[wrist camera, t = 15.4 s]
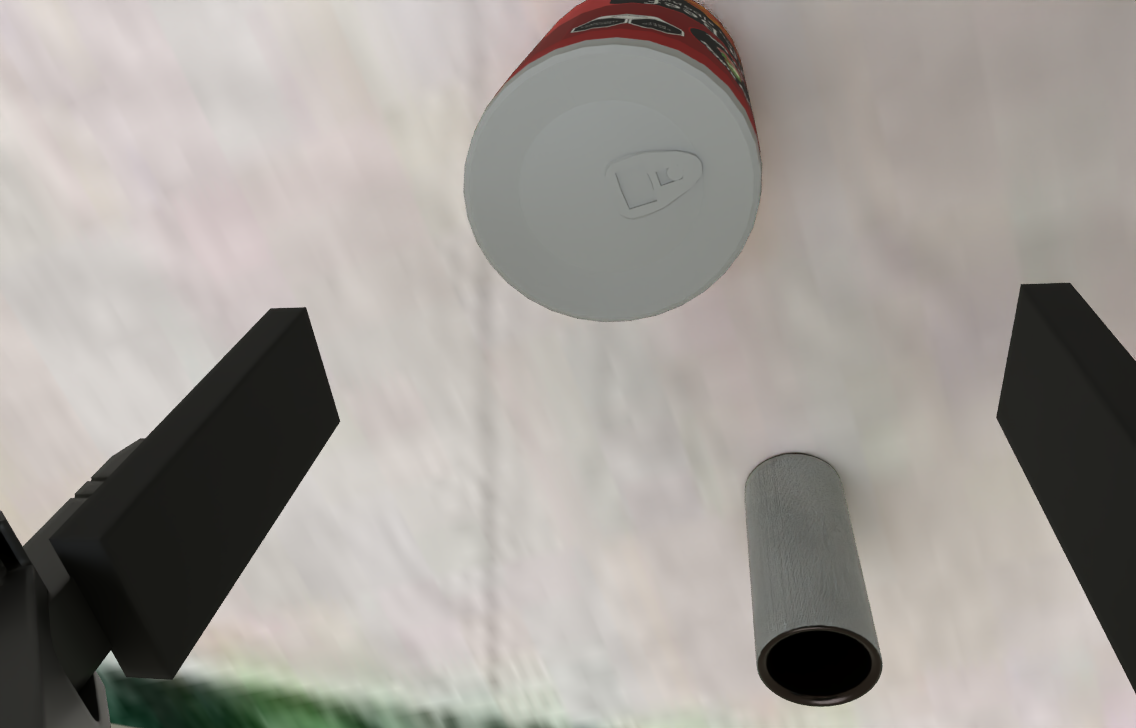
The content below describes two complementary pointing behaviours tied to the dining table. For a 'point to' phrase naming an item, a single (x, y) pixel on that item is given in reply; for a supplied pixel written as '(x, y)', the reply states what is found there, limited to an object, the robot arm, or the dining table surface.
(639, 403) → the dining table surface
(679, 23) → the canned food
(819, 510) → the grey cylinder
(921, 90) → the dining table surface
